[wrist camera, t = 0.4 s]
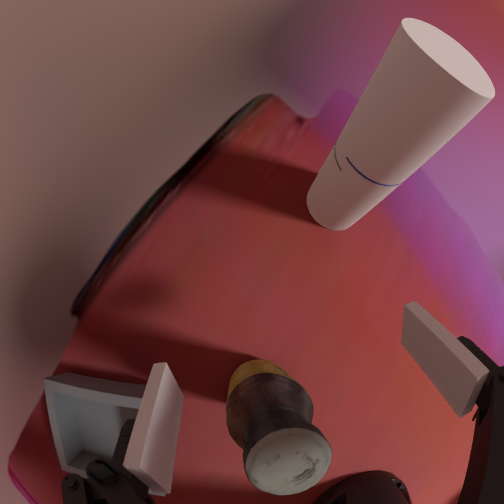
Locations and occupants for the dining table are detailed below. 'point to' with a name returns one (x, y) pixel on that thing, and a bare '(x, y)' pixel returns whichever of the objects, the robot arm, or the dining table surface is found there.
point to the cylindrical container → (398, 122)
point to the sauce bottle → (275, 429)
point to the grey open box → (89, 417)
